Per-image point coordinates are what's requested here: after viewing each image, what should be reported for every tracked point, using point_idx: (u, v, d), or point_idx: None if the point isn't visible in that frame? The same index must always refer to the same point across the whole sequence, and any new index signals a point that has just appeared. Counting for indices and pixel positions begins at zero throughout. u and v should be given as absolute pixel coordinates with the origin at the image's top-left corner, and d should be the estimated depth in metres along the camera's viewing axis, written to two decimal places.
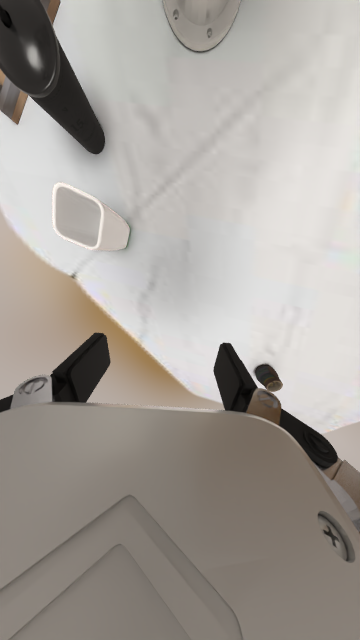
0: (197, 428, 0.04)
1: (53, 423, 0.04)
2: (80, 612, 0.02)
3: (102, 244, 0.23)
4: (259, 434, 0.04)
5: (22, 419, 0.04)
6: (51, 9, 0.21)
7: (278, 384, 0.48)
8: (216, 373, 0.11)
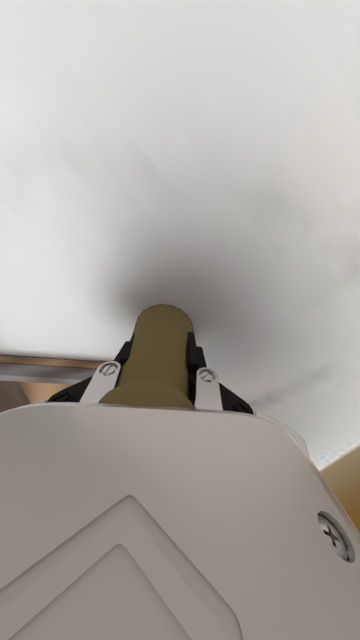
0: (197, 428, 0.04)
1: (53, 423, 0.04)
2: (80, 612, 0.02)
3: None
4: (259, 434, 0.04)
5: (22, 419, 0.04)
6: None
7: None
8: None
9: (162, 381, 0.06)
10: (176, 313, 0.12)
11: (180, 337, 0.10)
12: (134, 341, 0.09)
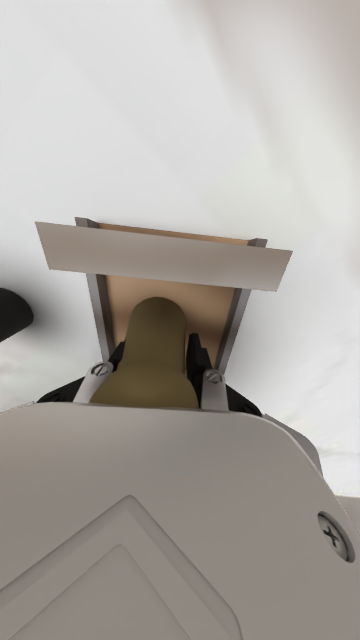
0: (197, 427, 0.04)
1: (53, 423, 0.04)
2: (80, 612, 0.02)
3: None
4: (259, 434, 0.04)
5: (22, 419, 0.04)
6: None
7: None
8: (186, 361, 0.12)
9: (170, 365, 0.07)
10: (176, 309, 0.13)
11: (180, 331, 0.11)
12: (138, 326, 0.10)
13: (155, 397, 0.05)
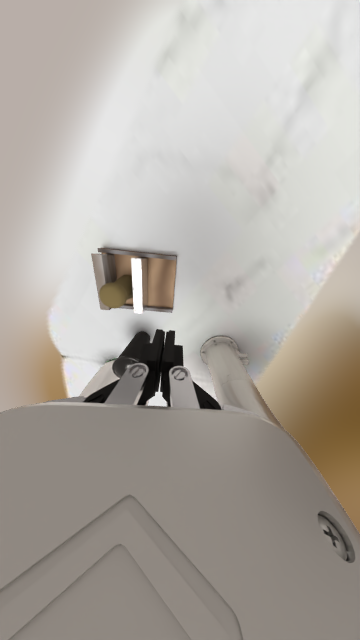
0: (197, 428, 0.04)
1: (53, 423, 0.04)
2: (80, 612, 0.02)
3: None
4: (259, 434, 0.04)
5: (22, 419, 0.04)
6: None
7: None
8: None
9: None
10: (118, 279, 0.34)
11: (116, 280, 0.31)
12: None
13: (99, 292, 0.26)
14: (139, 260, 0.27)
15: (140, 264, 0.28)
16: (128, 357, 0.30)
